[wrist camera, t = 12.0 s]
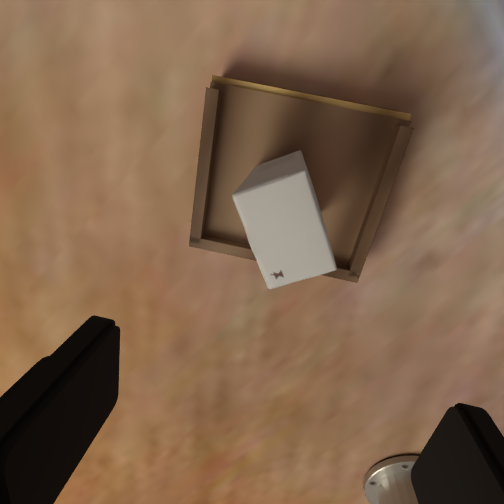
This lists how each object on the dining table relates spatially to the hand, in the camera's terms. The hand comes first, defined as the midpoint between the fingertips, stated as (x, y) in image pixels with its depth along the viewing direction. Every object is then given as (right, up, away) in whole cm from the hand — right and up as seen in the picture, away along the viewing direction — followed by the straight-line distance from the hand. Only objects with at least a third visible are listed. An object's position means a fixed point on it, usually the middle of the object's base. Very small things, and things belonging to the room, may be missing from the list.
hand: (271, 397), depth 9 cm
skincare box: (+3, +10, +19) cm, 22 cm away
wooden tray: (+3, +11, +22) cm, 24 cm away
